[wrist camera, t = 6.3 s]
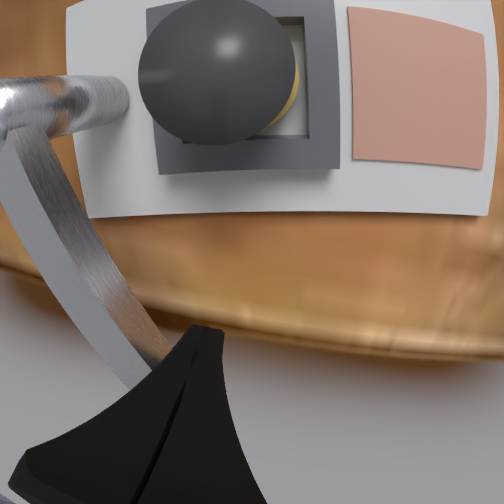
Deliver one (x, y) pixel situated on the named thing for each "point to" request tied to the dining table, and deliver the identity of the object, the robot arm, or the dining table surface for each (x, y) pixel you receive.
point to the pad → (416, 89)
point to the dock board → (272, 137)
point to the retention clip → (71, 215)
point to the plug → (217, 72)
